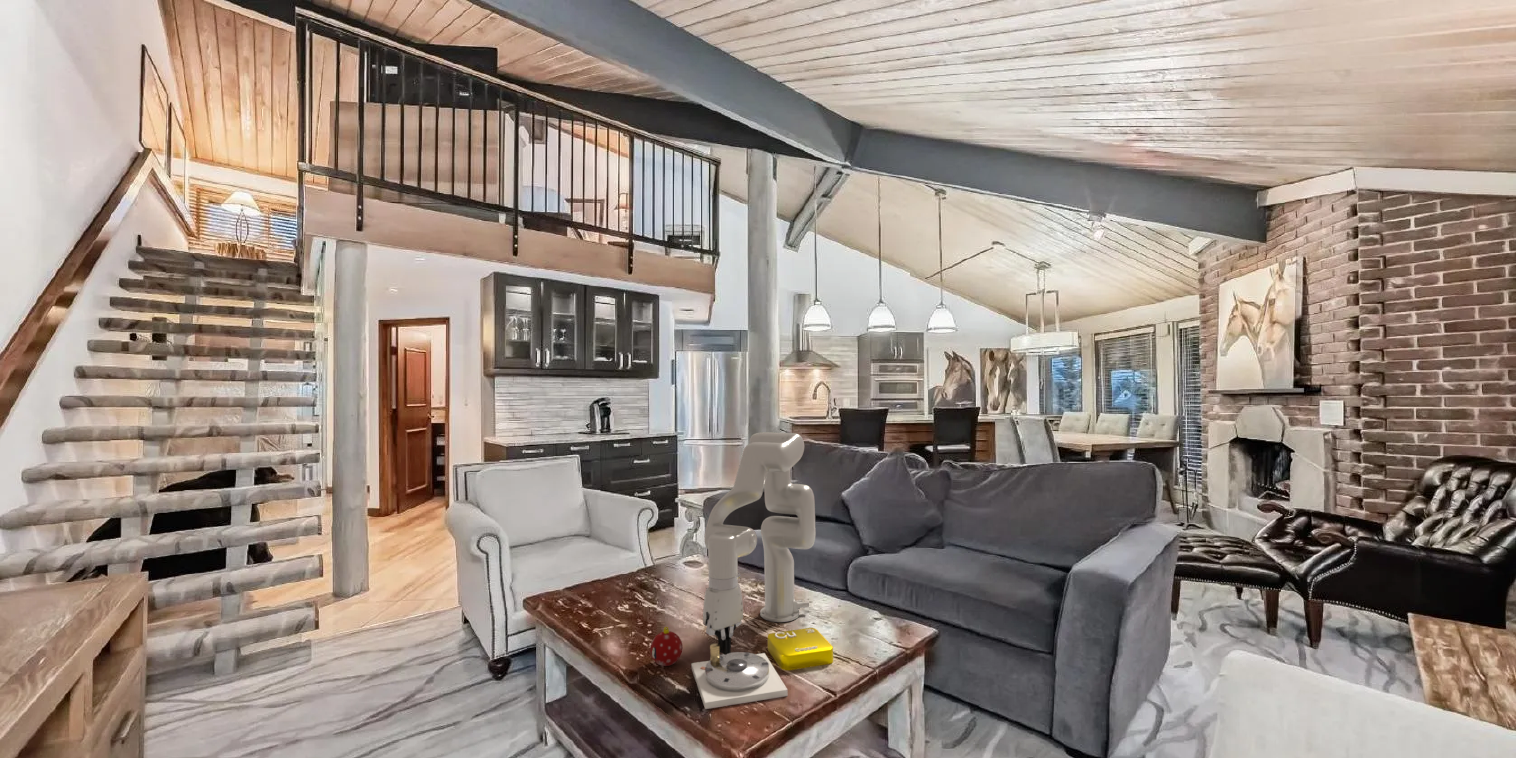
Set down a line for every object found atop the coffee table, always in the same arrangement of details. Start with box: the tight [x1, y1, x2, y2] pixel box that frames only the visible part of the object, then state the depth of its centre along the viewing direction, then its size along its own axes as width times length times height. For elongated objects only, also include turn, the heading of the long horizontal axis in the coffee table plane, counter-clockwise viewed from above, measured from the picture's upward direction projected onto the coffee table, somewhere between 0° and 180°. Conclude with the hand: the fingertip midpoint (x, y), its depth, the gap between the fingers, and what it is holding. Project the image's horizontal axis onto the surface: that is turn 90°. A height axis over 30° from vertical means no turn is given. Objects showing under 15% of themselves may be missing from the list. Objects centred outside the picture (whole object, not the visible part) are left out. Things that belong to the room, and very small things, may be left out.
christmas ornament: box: [649, 626, 684, 667], centre depth 160 cm, size 9×9×10 cm
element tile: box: [767, 627, 834, 671], centre depth 165 cm, size 15×15×5 cm
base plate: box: [690, 652, 789, 710], centre depth 150 cm, size 20×20×2 cm
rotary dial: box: [705, 643, 769, 691], centre depth 150 cm, size 16×16×6 cm
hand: (724, 652), depth 155 cm, fingers closed
